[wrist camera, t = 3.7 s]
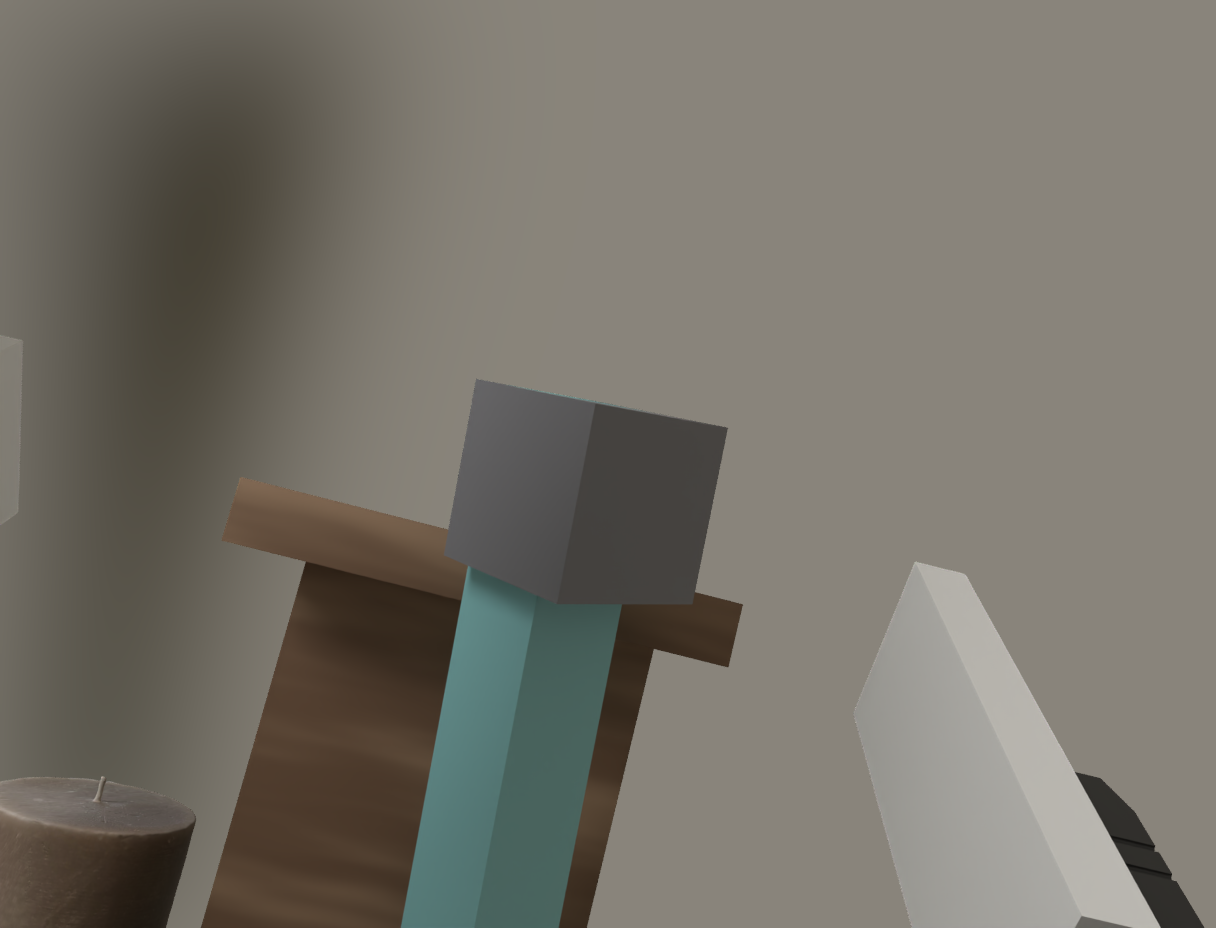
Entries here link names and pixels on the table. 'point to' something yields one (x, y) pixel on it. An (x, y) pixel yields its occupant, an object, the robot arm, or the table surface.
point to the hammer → (545, 634)
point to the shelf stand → (390, 717)
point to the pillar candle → (89, 854)
